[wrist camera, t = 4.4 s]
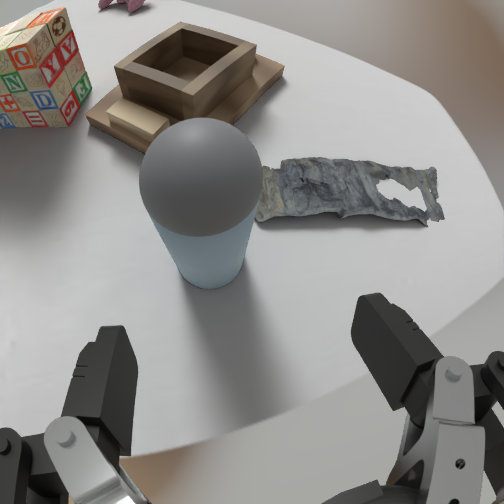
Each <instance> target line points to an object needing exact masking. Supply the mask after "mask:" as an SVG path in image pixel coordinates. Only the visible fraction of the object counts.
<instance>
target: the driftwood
mask: <svg viewBox="0 0 504 504" xmlns="http://www.w3.org/2000/svg"><path fill="white" fill-rule="evenodd" d="M262 171H263V183H262V191H261V195H260V199H259V202H258V206H257V210H256V214H255V217H256V220H257V221H259V222H263V221H265V220H267V219H269V218H272V217H274V216H286V215H287V216H288V215H290V216H292V215H293V216H307V215H311V214H318V213H323V212H327V211H329V212H338V213H339V215H338V217H339V218H345V217H347V216H351V215H356V214H374V215H377V216H381V217H384V218H389V219H394V220H402V221H406V220H411V219H413V218H414V219H416V218H417V219H419V220H420V221H421V222H422V223H423V224H425V225H426V226H427V227H428V225H427V220H429V218H430V219H431V220H432V221H437V222H439V220H443V219H445V218H444V214H443V211H442V208H441V206H440V204H439V203H437V202H436V199H437V198H438V197H439V196H438V193H437V188H436V182H437V181H436V179H437V173H436V172H437V170H436V169H435V168H434V167H430V168H429V169H428V170H427V169H426V170H414V169H413V168H411V167H406V168H405V167H404V168H401V167H388V166H384V165H381V164H377V163H375V162H372V161H360V160H359V161H353V160H348V159H333V160H330V159H327V158H322V157H318V158H315V157H313V158H301V159H287V160H282V161H281V169H273V168H272V169H271V170H270V168H269V167H268V166H263V167H262ZM385 177H388V178H391V179H394V180H395V181H397V182H398V183H400V184H402V185H404V186H405V187H406V188H408V189H409V190H410V191H411V190H413V189H414V188H415V187H418V188H419V189H420V190H421V193H422V195H423V198H424V202H425V204H426V207H427V210H426V211H425V212H424V211H422V210H421V209H419V208H416V207H415V206H412V207H410V208H408V207H407V206H405V205H404V204H403V203H402V202H401V201H400V200H398V199H396V198H394V199H393V200H389V199H387V198H385V197H384V196H383V195H382V194H381V193H379V192H378V190H377V187H376V184H378V183H379V180H381V179H382V180H385ZM429 189H430V190H431V192H430V191H429Z"/></svg>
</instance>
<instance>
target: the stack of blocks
mask: <svg viewBox="0 0 504 504" xmlns="http://www.w3.org/2000/svg"><path fill="white" fill-rule="evenodd" d="M91 90H92V86H91V83H90V80H89V77H88V75H87V72H86V71H85V68H84V64H83V61H82V58H81V56H80V53H79V48H78V45H77V42H76V39H75V36H74V32H73V30H72V28H71V25H70V21H69V17H68V14H67V10H66V7H63V8H59V9H55V10H51V11H47V12H44V13H42V12H39V13H36V14H33V15H30V16H27V17H24V18H23V19H20V20H18V21H15V22H13V23H10V24H8V25H6V26H3V27H1V28H0V129H2V128H15V127H69V125H70V124H71V122H72V120H73V118H74V117H75V115H76V113H77V112H78V110H79V108H80V106H81V105H82V103H83V102H84V100H85V98H86V97H87V95H88V94H89V92H90V91H91Z"/></svg>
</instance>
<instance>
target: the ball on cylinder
mask: <svg viewBox="0 0 504 504" xmlns="http://www.w3.org/2000/svg"><path fill="white" fill-rule="evenodd" d="M262 183H263V171H262V165H261V161H260V158H259V156H258V153H257V151H256V149H255V147H254V145H253V144H252V143H251V141H250V140H249V139H248V138H247V136H245V135H244V134H243V133H242V132H241V131H240V130H238V129H237V128H236V127H234V126H232V125H230V124H229V123H226V122H224V121H221V120H217V119H212V118H192V119H187V120H184V121H181V122H178V123H176V124H174V125H172V126H170V127H168V128H167V129H166V130H164V131H163V132H162V133H161V134H159V135H158V136H157V137H156V139H155V140H154V141H153V142H152V143H151V145H150V146H149V148H148V149H147V151H146V153H145V155H144V158H143V160H142V163H141V168H140V174H139V187H140V194H141V197H142V200H143V203H144V205H145V207H146V209H147V211H148V213H149V215H150V217H151V219H152V221H153V223H154V225H155V227H156V229H157V230H158V232H159V234H160V236H161V238H162V240H163V242H164V243H165V245H166V247H167V249H168V251H169V253H170V254H171V256H172V258H173V260H174V262H175V263H176V265H177V267H178V269H179V271H180V272H181V274H182V275H183V277H184V278H185V279H186V280H187V281H188V282H189V283H191V284H193V285H194V286H197V287H199V288H203V289H216V288H220V287H223V286H225V285H227V284H228V283H230V282H231V281H232V280H233V279H234V278H235V277H236V276H237V275H238V273H239V271H240V269H241V267H242V264H243V260H244V256H245V252H246V248H247V244H248V240H249V237H250V233H251V229H252V225H253V221H254V218H255V214H256V210H257V206H258V202H259V199H260V195H261V191H262Z"/></svg>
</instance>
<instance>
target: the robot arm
mask: <svg viewBox="0 0 504 504" xmlns="http://www.w3.org/2000/svg"><path fill="white" fill-rule="evenodd" d="M351 337H352V341H353V344H354V346H355V347H356V349H357V351H358V352H359V354H360V356H361V357H362V359H363V361H364V362H365V364H366V366H367V367H368V369H369V371H370V372H371V374H372V376H373V377H374V379H375V381H376V382H377V384H378V386H379V388H380V389H381V391H382V393H383V394H384V396H385V397H386V399H387V401H388V403H389V405H390V407H391V408H392V410H393V411H395V410H397V409H400V408H402V407H405V408H406V410H407V412H408V414H407V416H406V420H405V426H404V431H403V435H402V440H401V445H400V449H399V453H398V457H397V461H396V463H395V465H394V467H393V469H392V471H391V473H390V475H389V477H388V479H387V482H386V485H385V486H380V485H379V483H378V480H375V481H372V482H369V483H367V484H364V485H361V486H359V487H356V488H353V489H350V490H347V491H344V492H341V493H340V494H338V495H336V496H334V497H333V498H331V499H329V500H327V501H326V502H324V503H322V504H479V503H480V496H481V488H482V480H483V469H484V471H485V473H486V475H487V477H488V479H489V481H490V483H491V485H492V487H493V489H494V492H495V494H496V496H497V497H496V500H495V501H494V502H493V503H492V504H504V428H503V426H502V424H501V423H500V421H499V420H498V418H497V416H496V415H495V414H494V412H493V410H492V409H491V408H492V407H493V405H494V404H495V403H496V402H497V401H498V402H499V403H500V405H501V407H502V408H503V410H504V352H501V351H495V352H492V353H491V354H490V355H489V357H488V358H487V360H486V362H485V363H484V364H479V365H471V366H469V365H468V364H467V363H466V362H465V361H463V360H462V359H460V358H457V357H452V356H448V357H444V356H443V355H442V354H441V353H440V352H439V350H438V349H437V348H436V347H435V345H434V344H433V343H432V342H431V341H430V339H429V338H428V337H427V336H426V335H425V333H424V332H423V331H422V330H421V329H419V326H418V325H417V324H416V323H415V322H413V319H412V318H411V317H410V316H409V315H408V314H407V313H406V311H405V310H403V309H401V308H400V307H398V306H396V305H395V304H390V303H389V301H388V300H387V299H386V298H385V297H384V296H383V295H382V294H381V293H373V294H368V295H362V296H360V297H359V298H358V301H357V305H356V310H355V314H354V319H353V323H352V327H351ZM137 379H138V365H137V360H136V356H135V354H134V351H133V349H132V346H131V344H130V341H129V338H128V335H127V333H126V330H125V328H124V326H122V325H119V326H102V327H100V329H99V332H98V335H97V338H96V341H95V342H89V343H88V344H87V345H86V346H85V347H84V349H83V350H82V351H81V352H80V354H79V357H78V360H77V363H76V368H75V369H74V372H73V378H72V379H71V382H70V386H69V389H68V392H67V396H66V400H65V403H64V407H63V411H62V414H61V417H60V418H57V419H55V420H54V421H52V422H51V423H50V424H49V426H48V427H47V429H46V431H45V433H42V434H37V435H31V436H25V437H21V436H20V435H19V434H18V433H17V432H16V431H15V430H13V429H11V428H1V429H0V504H68V496H69V494H70V496H71V498H72V499H73V501H74V503H75V504H152V503H151V502H150V501H149V500H148V499H147V498H146V497H145V495H144V494H143V493H142V492H141V491H140V489H139V488H138V487H137V486H136V485H135V483H134V482H133V481H132V480H131V478H130V477H129V476H128V475H127V473H126V472H125V471H124V469H123V468H122V467H121V465H120V464H119V456H131V442H132V428H133V416H134V406H135V396H136V387H137ZM27 489H28V491H27ZM26 500H27V503H26Z"/></svg>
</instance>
